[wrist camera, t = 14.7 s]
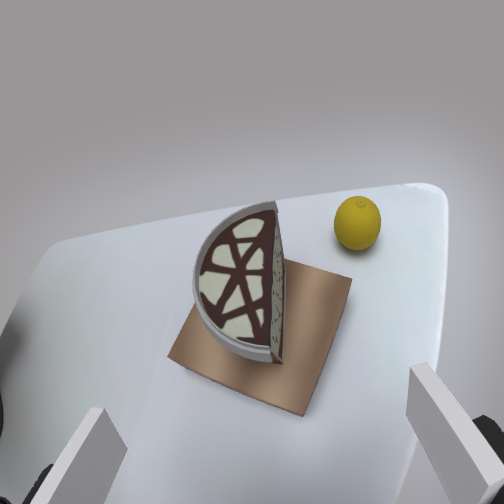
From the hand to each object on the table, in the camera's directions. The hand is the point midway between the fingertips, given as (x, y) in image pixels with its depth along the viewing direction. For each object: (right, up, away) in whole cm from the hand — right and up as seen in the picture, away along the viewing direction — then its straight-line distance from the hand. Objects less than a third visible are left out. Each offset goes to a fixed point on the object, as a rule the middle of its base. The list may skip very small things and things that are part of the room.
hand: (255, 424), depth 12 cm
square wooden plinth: (+2, -3, +24) cm, 24 cm away
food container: (0, +1, +19) cm, 19 cm away
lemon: (+13, +8, +28) cm, 32 cm away
